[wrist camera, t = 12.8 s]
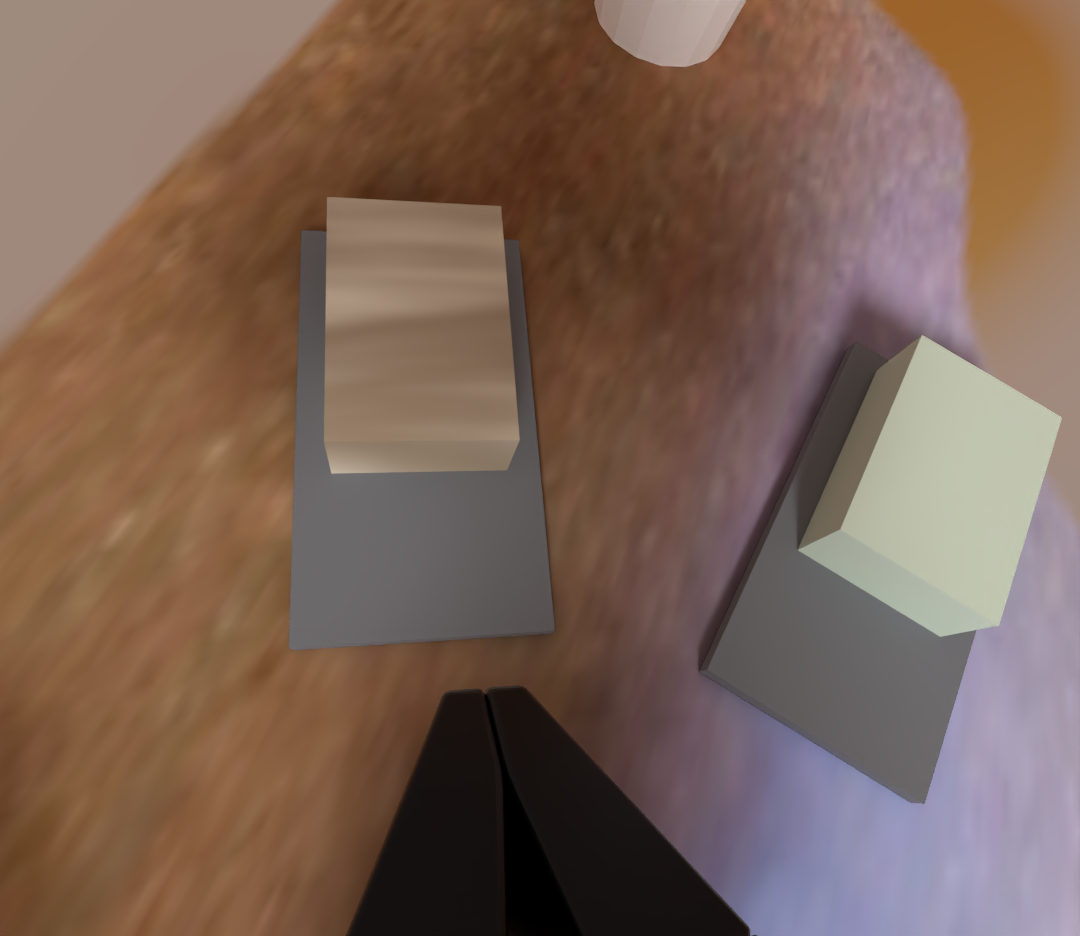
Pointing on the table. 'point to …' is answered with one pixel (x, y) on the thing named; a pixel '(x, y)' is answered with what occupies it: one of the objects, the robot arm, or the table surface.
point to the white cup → (668, 27)
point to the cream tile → (417, 338)
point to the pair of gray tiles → (524, 578)
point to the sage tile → (934, 490)
